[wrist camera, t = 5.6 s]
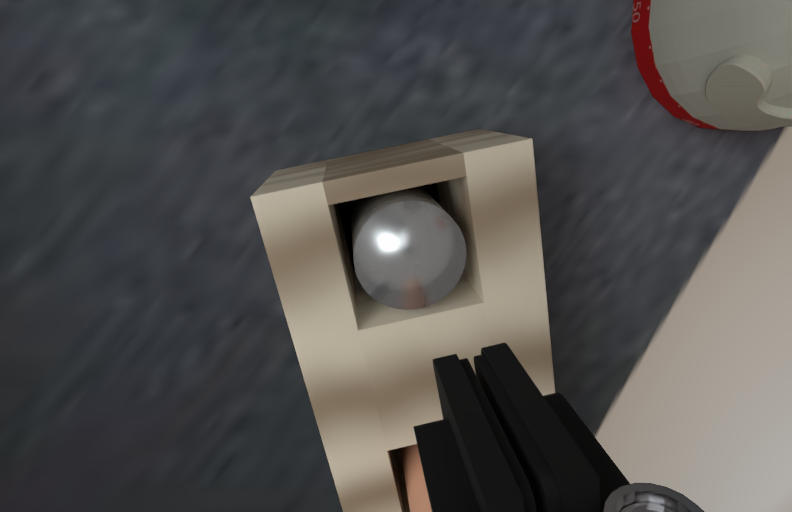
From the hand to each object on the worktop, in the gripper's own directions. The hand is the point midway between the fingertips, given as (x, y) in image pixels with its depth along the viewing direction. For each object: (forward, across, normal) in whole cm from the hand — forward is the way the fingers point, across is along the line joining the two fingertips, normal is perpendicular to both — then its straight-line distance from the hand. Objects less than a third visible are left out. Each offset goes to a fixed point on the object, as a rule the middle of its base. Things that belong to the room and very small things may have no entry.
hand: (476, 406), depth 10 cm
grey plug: (+18, 0, 0) cm, 18 cm away
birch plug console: (+19, 0, +7) cm, 20 cm away
